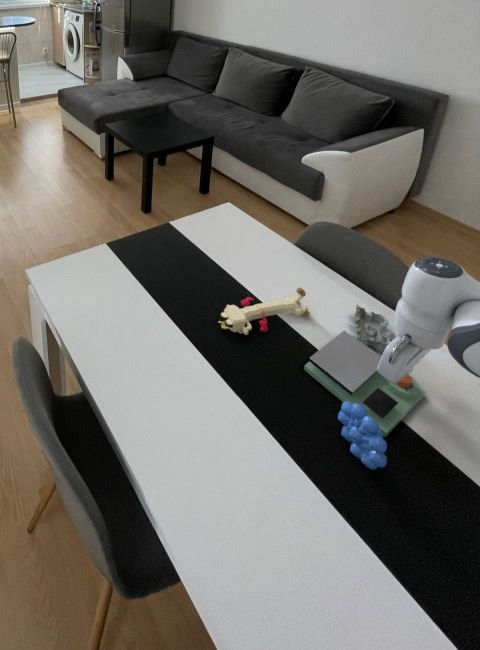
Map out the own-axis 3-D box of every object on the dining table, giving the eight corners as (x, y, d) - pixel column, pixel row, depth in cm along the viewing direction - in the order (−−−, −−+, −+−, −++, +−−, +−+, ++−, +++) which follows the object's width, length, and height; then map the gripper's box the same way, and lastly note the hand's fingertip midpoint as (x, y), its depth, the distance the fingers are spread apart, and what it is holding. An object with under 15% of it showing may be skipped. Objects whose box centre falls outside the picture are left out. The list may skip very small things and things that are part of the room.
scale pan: (415, 384, 94) (417, 381, 94) (381, 420, 88) (382, 416, 87) (343, 333, 107) (344, 330, 107) (308, 361, 101) (309, 357, 100)
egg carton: (352, 313, 116) (355, 302, 115) (386, 324, 112) (389, 312, 111) (352, 343, 108) (355, 331, 106) (388, 356, 104) (392, 343, 102)
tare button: (412, 384, 95) (414, 378, 94) (405, 391, 93) (407, 385, 93) (398, 373, 97) (399, 368, 96) (390, 380, 96) (392, 375, 95)
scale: (423, 396, 95) (427, 386, 94) (385, 437, 87) (388, 428, 86) (342, 338, 109) (344, 329, 108) (303, 369, 102) (305, 360, 101)
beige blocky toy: (288, 299, 123) (210, 313, 118) (294, 275, 120) (214, 288, 115) (313, 326, 114) (229, 343, 109) (320, 301, 111) (235, 317, 106)
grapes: (399, 485, 80) (413, 444, 75) (363, 489, 80) (376, 448, 75) (357, 421, 91) (368, 382, 86) (326, 424, 90) (336, 385, 86)
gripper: (411, 361, 81) (395, 409, 87) (460, 314, 91) (443, 360, 96) (376, 337, 87) (362, 384, 92) (425, 295, 96) (411, 339, 101)
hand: (404, 371), depth 94 cm, fingers closed
